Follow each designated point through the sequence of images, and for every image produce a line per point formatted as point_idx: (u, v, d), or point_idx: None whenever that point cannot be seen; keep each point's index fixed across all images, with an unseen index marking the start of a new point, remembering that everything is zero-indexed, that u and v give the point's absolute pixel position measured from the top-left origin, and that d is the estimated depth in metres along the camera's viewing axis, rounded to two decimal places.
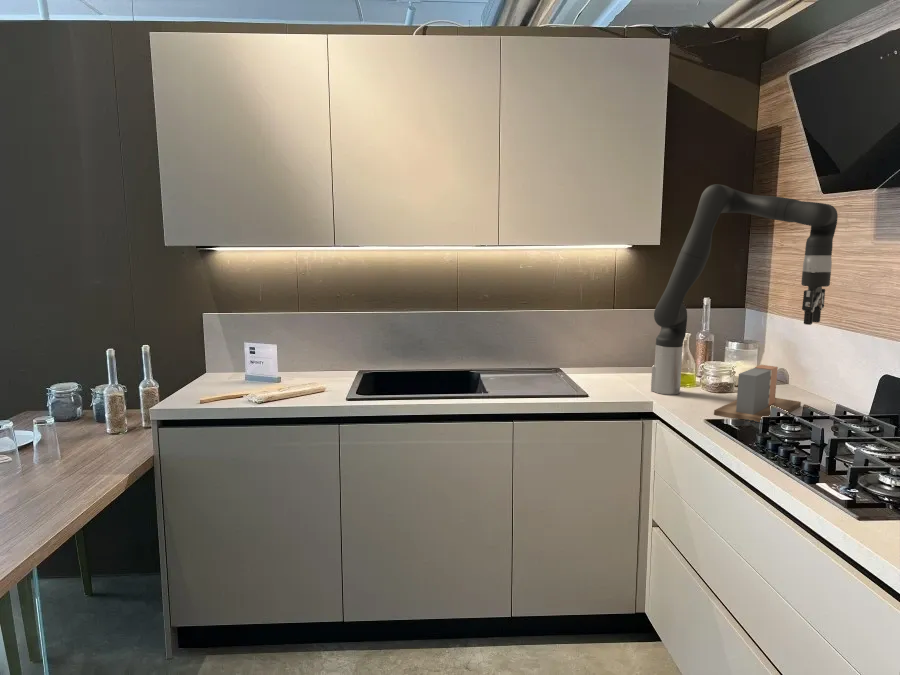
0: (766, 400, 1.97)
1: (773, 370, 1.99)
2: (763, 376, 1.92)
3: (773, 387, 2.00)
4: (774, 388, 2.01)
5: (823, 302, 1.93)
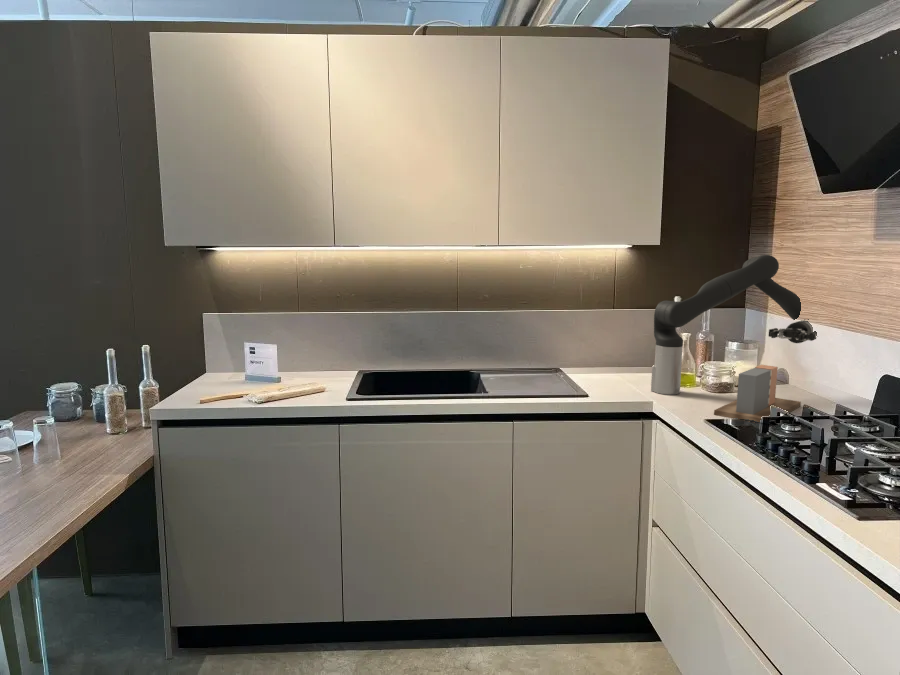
0: (766, 400, 1.97)
1: (773, 370, 1.99)
2: (763, 376, 1.92)
3: (773, 387, 2.00)
4: (774, 388, 2.01)
5: None
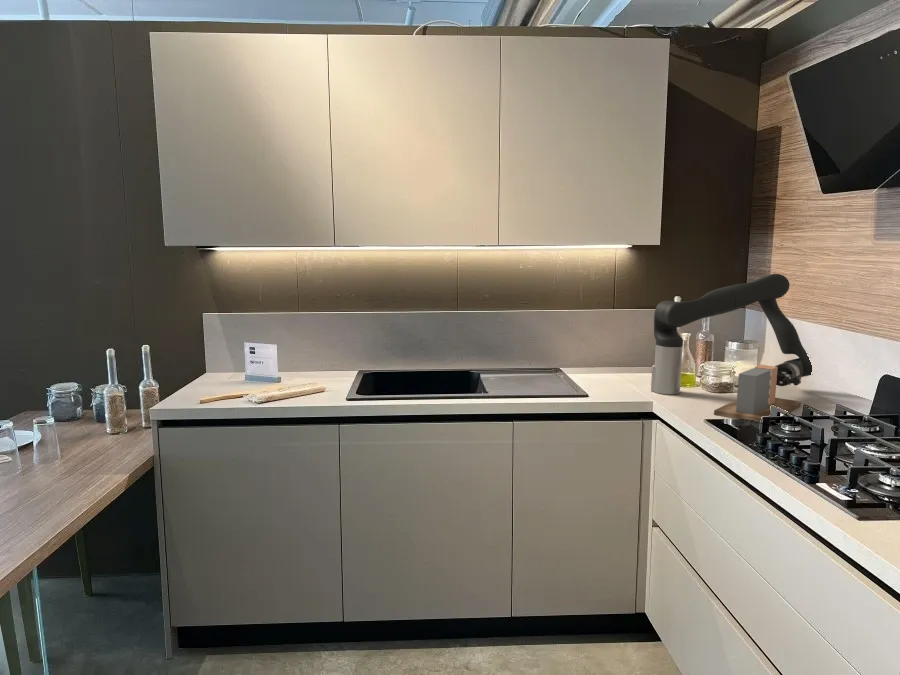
0: (766, 400, 1.97)
1: (773, 370, 1.99)
2: (763, 376, 1.92)
3: (773, 387, 2.00)
4: (774, 388, 2.01)
5: None
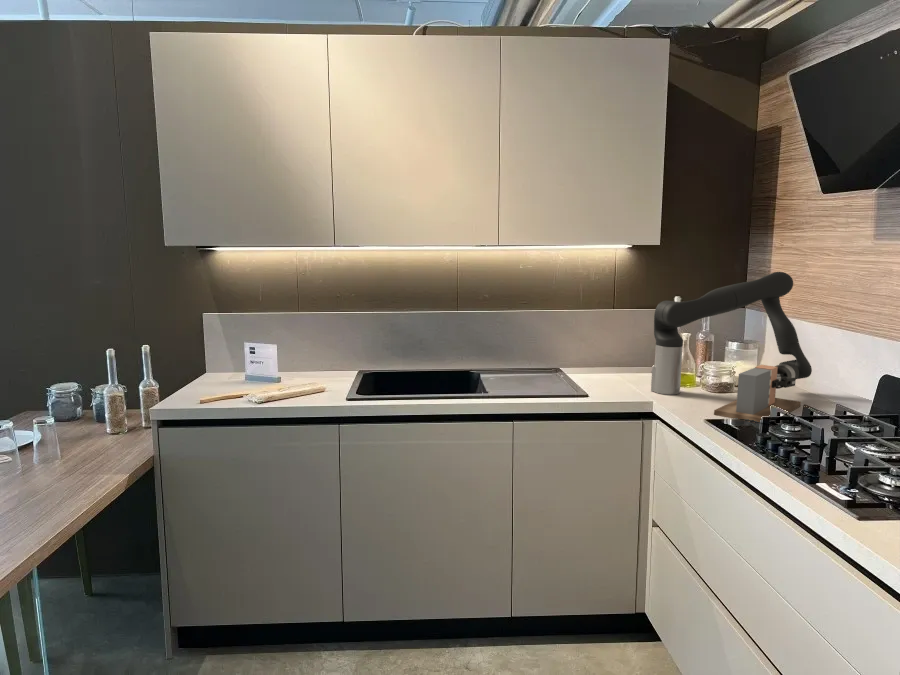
0: (766, 400, 1.97)
1: (773, 370, 1.99)
2: (763, 376, 1.92)
3: None
4: (774, 388, 2.01)
5: None
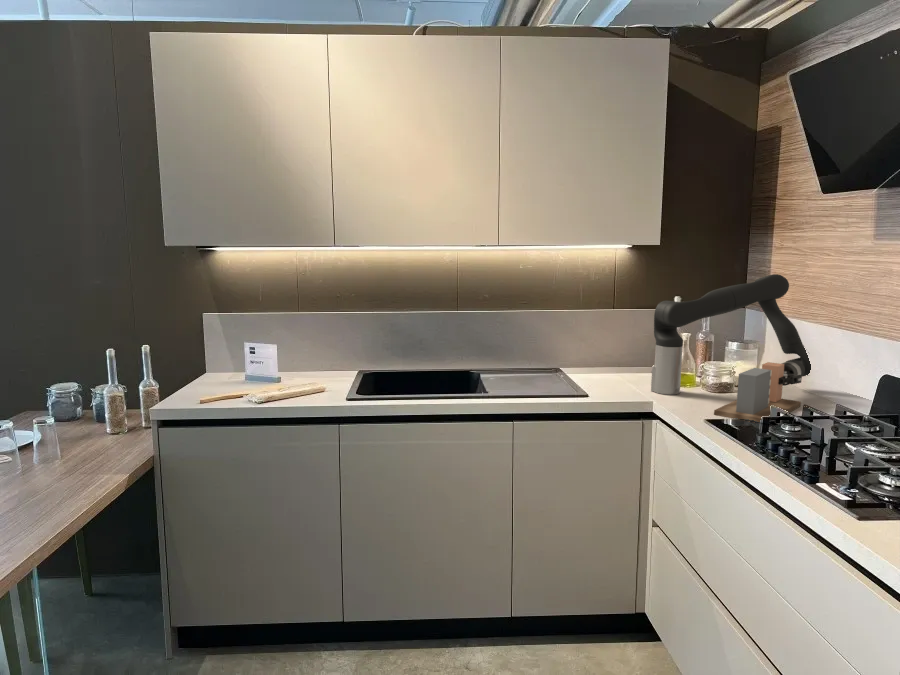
0: (766, 400, 1.97)
1: (780, 367, 2.04)
2: (763, 376, 1.92)
3: None
4: (780, 385, 2.06)
5: None
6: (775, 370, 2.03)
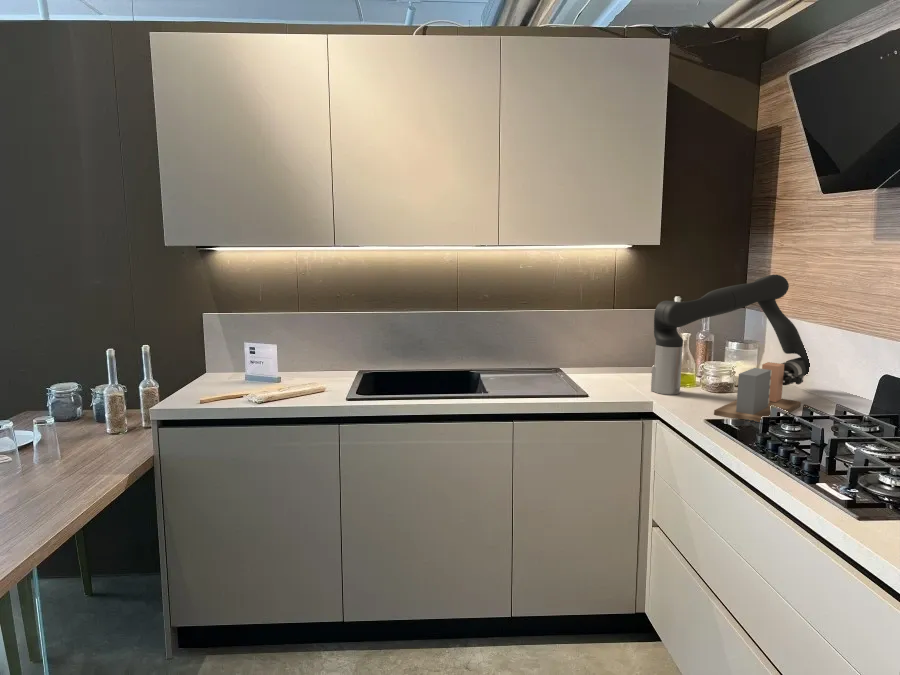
0: (766, 400, 1.97)
1: (780, 367, 2.04)
2: (763, 376, 1.92)
3: (780, 384, 2.05)
4: (780, 385, 2.06)
5: None
6: (775, 370, 2.03)
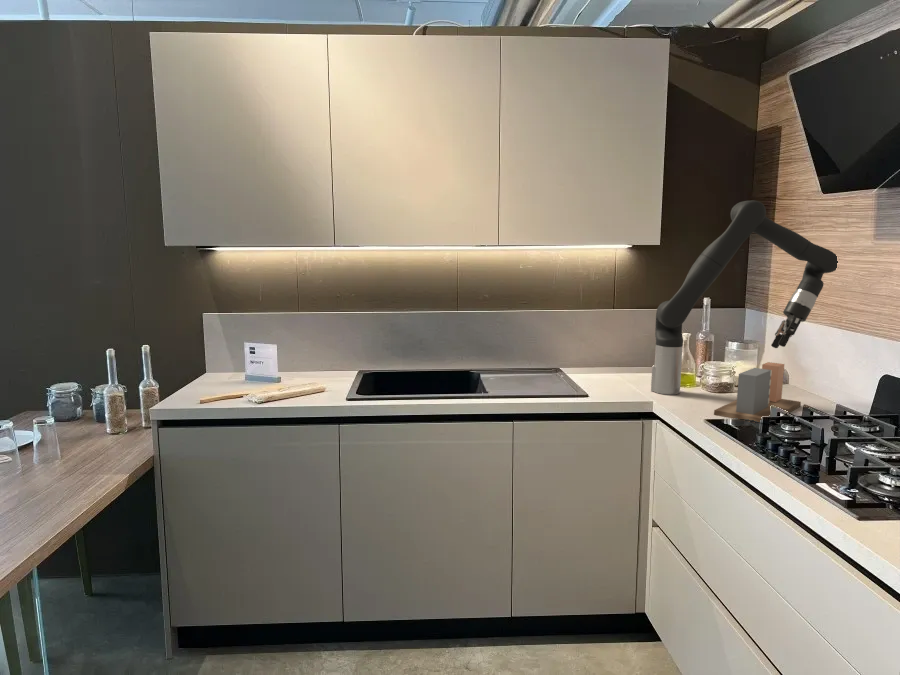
0: (766, 400, 1.97)
1: (780, 367, 2.04)
2: (763, 376, 1.92)
3: (780, 384, 2.05)
4: (780, 385, 2.06)
5: None
6: (775, 370, 2.03)
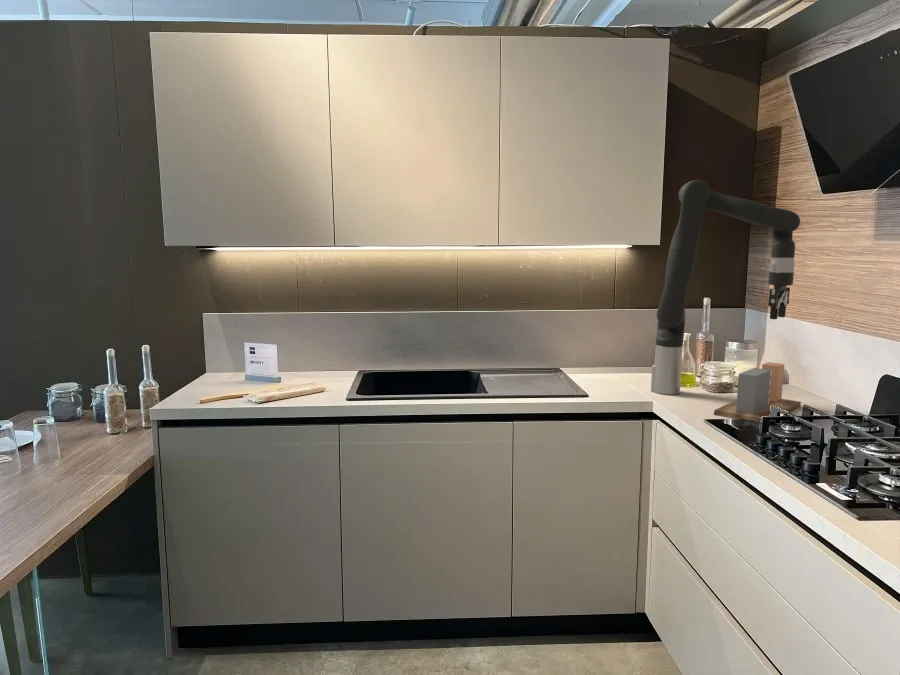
0: (766, 400, 1.97)
1: (780, 367, 2.04)
2: (763, 376, 1.92)
3: (780, 384, 2.05)
4: (780, 385, 2.06)
5: (788, 299, 2.16)
6: (775, 370, 2.03)
